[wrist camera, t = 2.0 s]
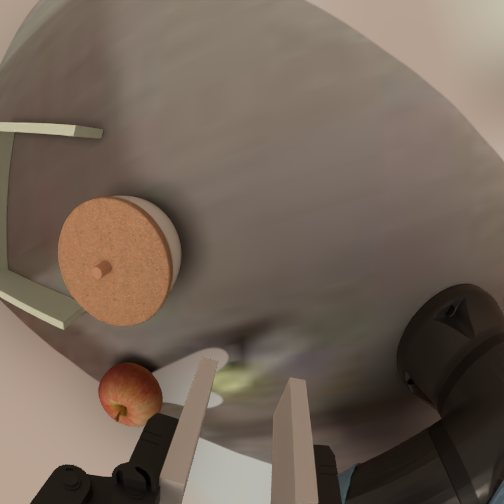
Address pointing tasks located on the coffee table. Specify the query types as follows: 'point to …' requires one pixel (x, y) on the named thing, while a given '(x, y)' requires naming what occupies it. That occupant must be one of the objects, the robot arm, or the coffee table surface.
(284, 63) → the coffee table surface
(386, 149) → the coffee table surface
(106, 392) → the apple
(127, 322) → the lidded jar
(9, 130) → the bin
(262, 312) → the coffee table surface
